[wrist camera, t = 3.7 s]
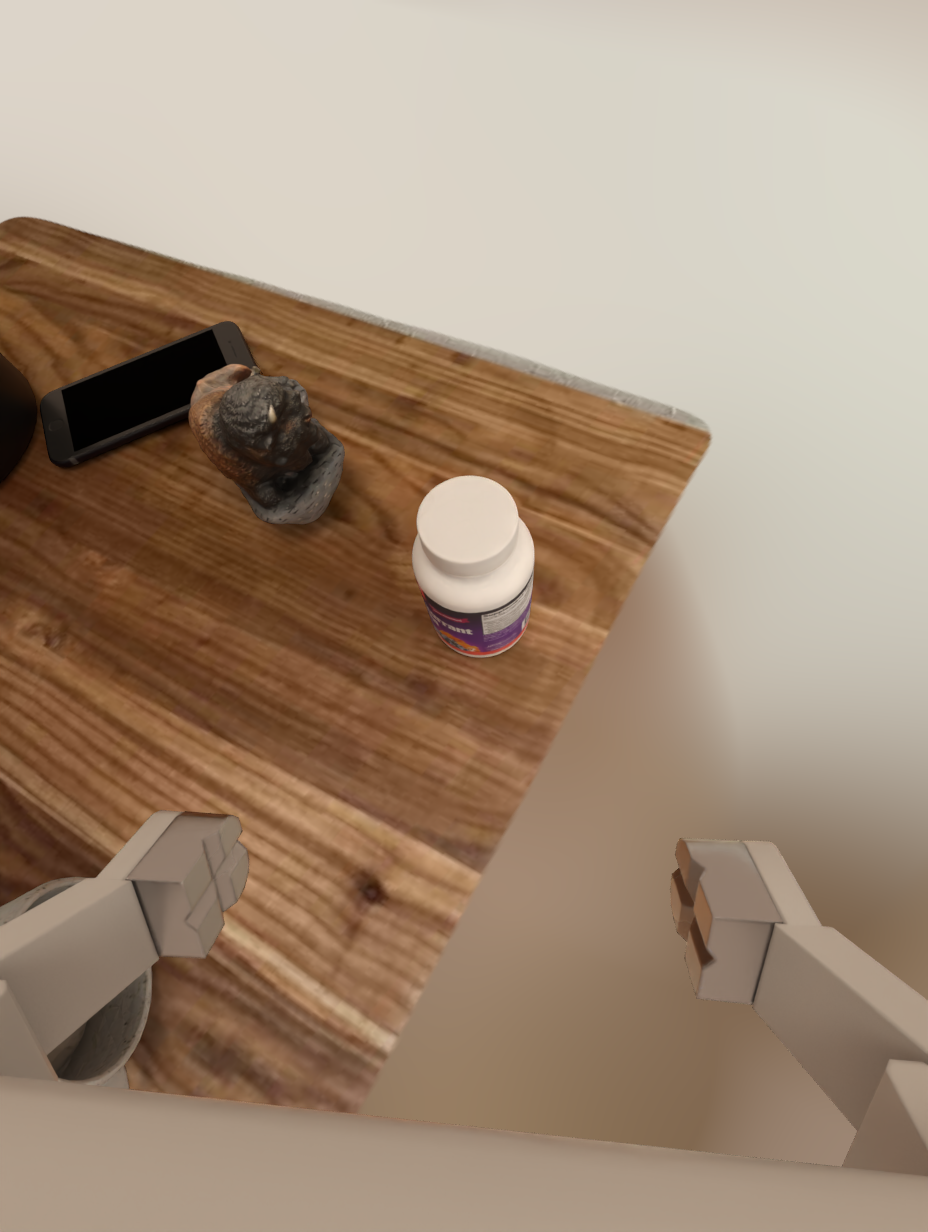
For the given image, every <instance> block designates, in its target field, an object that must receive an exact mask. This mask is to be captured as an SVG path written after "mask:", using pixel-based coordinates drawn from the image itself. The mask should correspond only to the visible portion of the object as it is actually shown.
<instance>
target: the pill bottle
mask: <svg viewBox="0 0 928 1232" xmlns="http://www.w3.org/2000/svg"><path fill="white" fill-rule="evenodd" d="M417 530H418V534H417V536H416V539H415V542H414V545H413V550H412V564H413V570H414V574H415V577H416V580H417V583H418V586H419V588H420V591H421V594H422V596H423V599H424V602H425V604H426V607H427V610H428V613H429V615H430V618H431V621H432V623H433V626H434V628H435V630H436V632H437V634H438V635H439V637H440V638H441V639H442V641H443V642H444V643H445V644H446V645H448V646H449V647H450V648H451V649H453V650H455V651H456V652H458V653H460V654H463V655H466V656H470V657H491V656H494V655H497V654H500V653H502V652H504V651H506V650H508V649H509V648H511V647H512V646H513V645H514V644H515V643H516V642H517V641H518V640H519V639H520V638H521V636H522V635H523V633H524V631H525V629H526V627H527V624H528V621H529V616H530V608H531V597H532V586H533V573H534V545H533V541H532V537H531V535H530V532H529V530H528V529H527V527H526V525H525V524H524V523H523V521H522V520H521V519H520V518H519V517H518V511H517V507H516V504H515V502H514V500H513V498H512V496H511V495H510V494H509V492H508V491H507V490H506V489H505V488H504V487H502V486H501V485H500V484H498V483H497V482H495V481H493V480H490V479H487V478H484V477H479V476H460V477H455V478H452V479H449V480H446V481H444V482H443V483H441V484H439V485H437V486H436V487H435V488H433V489H432V490H431V491H430V492H429V493H428V494H427V495H426V497H425V498H424V499H423V501H422V503H421V505H420V507H419V510H418V514H417Z"/></svg>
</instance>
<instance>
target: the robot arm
mask: <svg viewBox="0 0 928 1232" xmlns="http://www.w3.org/2000/svg"><path fill="white" fill-rule="evenodd" d="M241 833H242V827H241V824H240V820H239V817H236V816H233V815H224V814H211V813H199V812H186V811H185V812H178V811H167V810H160V811H158V812H156V813H154V814H152V815H151V816H150V817H149V818H148V819H147V821H146V822H145V823H144V824H143V825H142V826H141V827H140V829H139V830H138V831H137V832H136V833H135V834H134V835H133V836H132V838H131V839H130V840H129V841H128V842H127V843H126V844H125V845H124V847H123V848H122V849H121V850H120V851H119V852H118V853H117V854H116V856H115V857H114V858H113V859H112V860H111V861H110V862H109V863H108V865H107V866H106V867H105V868H104V869H103V870H102V871H101V872H100V874H99V875H98V876H97V877H96V878H86V879H84V880H83V881H81V882H79V883H77V884H75V885H74V886H72V887H70V888H68V889H67V890H65V891H63V892H61V893H59V894H58V895H56V896H54V897H52V898H50V899H49V900H47V901H45V902H43V903H41V904H40V905H38V906H36V907H34V908H32V909H31V910H29V911H27V912H25V913H24V914H22V915H20V916H18V917H16V918H15V919H13V920H11V921H9V922H7V923H6V924H4V925H2V926H0V1232H928V1000H926V999H925V998H924V997H923V996H921V995H920V994H919V993H917V992H916V991H914V990H913V989H912V988H911V987H909V986H908V985H907V984H906V983H904V982H903V981H902V980H900V979H899V978H898V977H896V976H895V975H894V974H893V973H891V972H890V971H888V970H887V969H886V968H885V967H883V966H882V965H881V964H879V963H878V962H877V961H876V960H874V959H873V958H872V957H870V956H869V955H868V954H866V953H865V952H864V951H862V950H861V949H860V948H859V947H857V946H856V945H855V944H853V943H852V942H851V941H850V940H848V939H847V938H845V937H844V936H843V935H841V934H840V933H839V932H838V931H836V930H835V929H834V928H832V927H824V926H822V925H821V923H820V922H819V920H818V918H817V917H816V915H815V913H814V911H813V909H812V908H811V906H810V904H809V902H808V901H807V899H806V897H805V895H804V894H803V892H802V890H801V889H800V887H799V885H798V883H797V881H796V880H795V878H794V876H793V874H792V873H791V871H790V869H789V867H788V866H787V864H786V862H785V861H784V859H783V857H782V855H781V854H780V852H779V850H778V848H777V847H776V846H775V845H774V844H773V843H772V842H767V841H742V840H741V841H737V840H714V839H692V838H680V839H679V841H678V843H677V847H676V853H675V856H676V859H677V862H678V865H679V868H678V869H677V870H676V871H675V872H674V873H673V874H672V878H671V888H670V893H671V908H672V913H673V919H674V923H675V925H676V930H677V933H678V934H679V935H680V936H681V937H682V938H683V939H684V940H685V941H686V942H687V947H686V952H685V961H686V964H687V968H688V971H689V974H690V978H691V981H692V985H693V988H694V991H695V995H696V998H697V999H706V1000H715V1001H724V1002H733V1003H742V1004H751V1005H753V1007H752V1008H753V1009H754V1010H755V1011H756V1012H757V1014H758V1015H759V1016H760V1017H761V1018H762V1020H763V1021H764V1022H765V1023H766V1024H767V1025H768V1027H769V1028H770V1029H771V1030H772V1031H773V1033H774V1034H775V1035H776V1036H777V1037H778V1038H779V1039H780V1041H781V1042H782V1043H783V1044H784V1045H785V1047H786V1048H787V1049H788V1050H789V1051H790V1052H791V1054H792V1055H793V1056H794V1057H795V1058H796V1059H797V1061H798V1062H799V1063H800V1064H801V1065H802V1067H803V1068H804V1069H805V1070H806V1071H807V1072H808V1074H809V1075H810V1076H811V1077H812V1078H813V1079H814V1081H815V1082H816V1083H817V1084H818V1085H819V1086H820V1088H821V1089H822V1090H823V1091H824V1092H825V1094H826V1095H827V1096H828V1097H829V1098H830V1099H831V1101H832V1102H833V1103H834V1104H835V1105H836V1106H837V1107H838V1109H839V1110H840V1111H841V1112H842V1113H843V1115H844V1116H845V1117H846V1118H847V1119H848V1120H849V1121H850V1123H851V1124H852V1125H853V1126H854V1128H855V1129H856V1130H857V1133H856V1136H855V1138H854V1141H853V1143H852V1145H851V1147H850V1149H849V1151H848V1154H847V1156H846V1158H845V1160H844V1163H843V1165H842V1167H839V1166H828V1165H820V1164H811V1163H802V1162H793V1161H783V1160H774V1159H765V1158H756V1157H755V1158H754V1157H746V1156H738V1155H728V1154H719V1153H710V1152H701V1151H692V1150H682V1149H673V1148H664V1147H655V1146H646V1145H636V1144H627V1143H618V1142H609V1141H600V1140H591V1139H581V1138H573V1137H563V1136H554V1135H544V1134H536V1133H526V1132H517V1131H508V1130H499V1129H490V1128H482V1127H472V1126H463V1125H454V1124H445V1123H435V1122H426V1121H418V1120H408V1119H398V1118H388V1117H379V1116H371V1115H362V1114H353V1113H343V1112H334V1111H325V1110H316V1109H306V1108H297V1107H288V1106H279V1105H269V1104H260V1103H251V1102H242V1101H233V1100H223V1099H214V1098H205V1097H196V1096H187V1095H178V1094H168V1093H159V1092H150V1091H141V1090H132V1089H122V1088H113V1087H104V1086H95V1085H86V1084H77V1083H67V1082H58V1076H57V1075H56V1073H55V1071H54V1069H53V1067H52V1065H51V1063H50V1061H49V1060H48V1058H47V1055H48V1054H49V1053H50V1052H51V1051H52V1050H54V1049H55V1048H56V1047H57V1046H58V1045H59V1044H61V1043H62V1042H63V1041H64V1040H65V1039H66V1038H68V1037H69V1036H70V1035H71V1034H72V1033H73V1032H75V1031H76V1030H77V1029H78V1028H79V1027H80V1026H82V1025H83V1024H84V1023H85V1022H86V1021H87V1020H89V1019H90V1018H91V1017H92V1016H93V1015H94V1014H96V1013H97V1012H98V1011H99V1010H100V1009H101V1008H103V1007H104V1006H105V1005H106V1004H107V1003H109V1002H110V1001H111V1000H112V999H113V998H114V997H116V996H117V995H118V994H119V993H120V992H121V991H123V990H124V989H125V988H126V987H127V986H128V985H130V984H131V983H132V982H133V981H134V980H135V979H137V978H138V977H139V976H140V975H141V974H142V973H144V972H145V971H146V970H147V969H148V968H149V967H151V966H152V965H153V964H154V963H155V962H156V961H158V960H159V957H158V956H162V957H182V958H203V959H205V958H206V956H207V954H208V953H209V951H210V949H211V947H212V946H213V944H214V942H215V940H216V939H217V937H218V935H219V933H220V931H221V930H222V928H223V926H224V924H225V923H224V916H223V912H224V911H225V910H227V909H228V908H230V907H231V906H232V905H234V904H235V903H236V902H237V901H238V899H239V897H240V896H241V894H242V892H243V890H244V888H245V884H246V881H247V877H248V873H249V856H248V852H247V849H246V848H245V847H244V846H243V845H242V844H241V843H240V842H239V841H238V840H237V839H238V838H239V836H240V834H241Z"/></svg>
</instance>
